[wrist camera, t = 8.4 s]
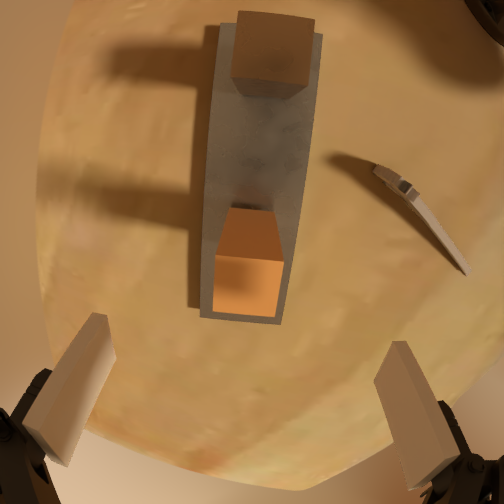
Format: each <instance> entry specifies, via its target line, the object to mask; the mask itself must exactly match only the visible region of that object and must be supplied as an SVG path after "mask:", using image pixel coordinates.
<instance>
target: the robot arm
mask: <svg viewBox="0 0 504 504" xmlns="http://www.w3.org/2000/svg"><path fill="white" fill-rule="evenodd" d="M465 1H466V3H467V5H468V7H469V8H470V10H471V11H472V13H473V14H474V16H475V17H476V19H477V20H478V21H479V23H480V24H481V25H482V26H483V28H484V29H485V30H486V31H487V32H488V33H489V34H490V35H491V36H492V37H493V38H494V39H495V40H496V41H497V42H499V43H500V44H501V45H502V46H504V0H465ZM115 360H116V355H115V351H114V347H113V342H112V338H111V333H110V328H109V323H108V318H107V315H103V314H98V313H92V314H91V315H90V317H89V318H88V320H87V321H86V322H85V324H84V325H83V327H82V328H81V330H80V331H79V332H78V334H77V335H76V337H75V338H74V340H73V341H72V343H71V344H70V346H69V347H68V349H67V350H66V352H65V353H64V355H63V356H62V358H61V359H60V361H59V362H58V364H57V365H56V367H55V368H54V370H53V371H52V370H49V369H46V368H45V369H44V370H42V371H41V372H39V373H38V374H37V375H36V376H35V377H34V379H33V380H32V382H31V384H30V386H29V387H28V388H27V390H26V393H24V394H23V396H22V398H21V399H20V401H19V403H18V405H17V406H16V407H15V409H14V411H13V412H12V414H11V416H10V417H9V415H8V414H7V413H6V412H5V410H4V409H3V408H0V504H61V503H60V500H59V498H58V495H57V493H56V490H55V488H54V485H53V483H52V480H51V477H50V474H49V472H48V469H47V466H46V463H45V461H44V458H45V455H47V456H48V457H49V458H50V459H51V460H52V461H54V462H56V463H58V464H61V465H63V466H65V467H68V465H69V462H70V460H71V457H72V455H73V452H74V450H75V448H76V445H77V443H78V441H79V438H80V436H81V434H82V431H83V429H84V427H85V424H86V422H87V420H88V418H89V415H90V413H91V411H92V409H93V406H94V404H95V402H96V400H97V398H98V396H99V393H100V391H101V389H102V387H103V385H104V383H105V381H106V379H107V377H108V375H109V373H110V370H111V368H112V366H113V364H114V362H115ZM374 384H375V386H376V389H377V392H378V395H379V398H380V401H381V404H382V406H383V409H384V412H385V415H386V418H387V421H388V424H389V427H390V431H391V434H392V437H393V440H394V443H395V446H396V450H397V453H398V456H399V460H400V463H401V466H402V470H403V473H404V476H405V480H406V484H407V488H408V490H412V489H416V488H420V487H423V486H425V485H426V484H427V483H428V482H430V481H431V482H432V486H431V487H429V488H428V489H427V490H426V491H424V492H423V493H422V494H421V495H420V497H423V496H424V495H425V494H427V495H426V497H425V499H424V501H423V503H422V504H504V455H503V456H502V457H500V458H499V459H498V460H484V459H483V458H482V457H481V456H479V455H478V454H474V453H473V454H472V453H471V451H470V449H469V447H468V444H467V443H466V440H465V438H464V435H463V433H462V431H461V429H460V427H459V426H458V423H457V420H456V419H455V416H454V414H453V412H452V410H451V408H450V407H449V406H448V405H447V404H446V403H445V402H444V401H443V400H442V401H437V400H436V398H435V396H434V394H433V392H432V390H431V388H430V386H429V384H428V382H427V380H426V378H425V376H424V374H423V372H422V370H421V368H420V366H419V364H418V362H417V361H416V359H415V357H414V355H413V353H412V351H411V349H410V347H409V346H408V344H407V342H406V341H393V342H392V344H391V346H390V348H389V350H388V353H387V355H386V357H385V359H384V361H383V363H382V365H381V367H380V369H379V371H378V373H377V375H376V377H375V379H374ZM491 494H492V496H491V500H490V497H489V496H490V495H491Z"/></svg>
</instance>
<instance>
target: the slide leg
mask: <svg viewBox="0 0 504 504" xmlns="http://www.w3.org/2000/svg"><path fill="white" fill-rule="evenodd" d="M283 265H284V258H283V253H282V248H281V242H280V237H279V232H278V227H277V221H276V216H275V212H270V211H261V210H251V209H241V208H231V207H229V211H228V214H227V217H226V221H225V224H224V227H223V231H222V234H221V237H220V241H219V244H218V248H217V251H216V255H215V271H214V292H213V311H214V312H224V313H234V314H244V315H255V316H267V317H275V312H276V307H277V301H278V295H279V289H280V283H281V277H282V271H283Z"/></svg>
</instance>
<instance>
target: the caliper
mask: <svg viewBox="0 0 504 504" xmlns="http://www.w3.org/2000/svg"><path fill="white" fill-rule="evenodd" d="M372 172H373V174H375V175H376V176H378V177H379V178H381V179H382V180H384V181H383V183H384V184H385V185H386V186H387V187H388V188H390V189H391V190H392V191H394V192H395V193H396V194H397V195H399V196H400V197H401V198H402V199H404V201H405V202H406V203H407V205H408V206H409V207H410V208H411V209H412V210H413V211H414V213H415V214H416V215H417V216H418V217H420V218H421V219H422V220H423V222H424V223H425V224H426V225H427V226H428V228H429V229H430V230H431V231H432V232H433V234H434V235H435V236H436V237H437V239H438V240H439V241H440V242H441V244H442V245H443V246H444V248H445V249H446V250H447V251H448V253H449V254H450V255H451V257H452V258H453V259H454V261H455V262H456V263H457V265H458V266H459V267H460V269H461V270H462V271H463V272H464V274H465V275H466V276H468V275H469V274H470V273H471V270H472V269H471V268H470V266H469V265H468V263H467V262H466V260H465V259H464V257H463V256H462V254H461V253H460V251H459V250H458V249H457V247H456V246H455V244H454V243H453V241H452V240H451V239H450V237H449V236H448V235H447V233H446V232H445V231H444V229H443V228H442V227H441V225H440V224H439V223H438V221H437V219H436V217H435V216H434V215H433V213H432V212H431V211H430V210H429V208H428V207H427V206H426V205H425V203H424V202H423V201H422V200H421V198H420V197H419V195H420V194H419V193H418V192H417V191H416V190H415V189H414V188H412V187H413V185H411V184H410V183H408V182H407V181H405V180H404V179H403V177H402V176H400V175H398V174H397V173H395V172H394V171H392V170H390V169H389V168H386V167H384V166H381V165H379V164H377V166H376V167H375V168H374V169H373V171H372Z"/></svg>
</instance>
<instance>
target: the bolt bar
mask: <svg viewBox="0 0 504 504" xmlns="http://www.w3.org/2000/svg"><path fill="white" fill-rule="evenodd" d="M314 24H315V20H314V19H309V18H303V17H297V16H290V15H283V14H274V13H265V12H254V11H238V18H237V23H221V24H220V31H219V39H218V47H217V55H216V63H215V71H214V80H213V90H212V99H211V110H210V120H209V132H208V144H207V157H206V171H205V186H204V203H203V222H202V245H201V276H200V317H203V318H211V319H221V320H230V321H241V322H252V323H264V324H276V325H281V320H282V315H283V310H284V305H285V300H286V294H287V289H288V283H289V278H290V272H291V267H292V261H293V255H294V249H295V243H296V237H297V231H298V225H299V219H300V213H301V206H302V200H303V193H304V187H305V180H306V173H307V166H308V159H309V151H310V144H311V136H312V129H313V121H314V113H315V104H316V96H317V87H318V78H319V68H320V59H321V48H322V37H323V34H319V33H314ZM229 207H231V208H241V209H251V210H261V211H270V212H275V216H276V221H277V227H278V232H279V237H280V242H281V248H282V253H283V258H284V265H283V271H282V277H281V283H280V289H279V295H278V301H277V307H276V312H275V317H267V316H255V315H244V314H234V313H224V312H214V311H213V292H214V271H215V255H216V251H217V248H218V244H219V241H220V237H221V234H222V231H223V227H224V224H225V221H226V217H227V214H228V211H229Z"/></svg>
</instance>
